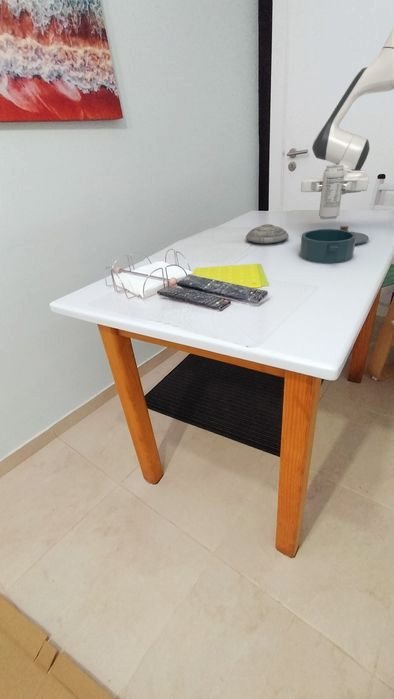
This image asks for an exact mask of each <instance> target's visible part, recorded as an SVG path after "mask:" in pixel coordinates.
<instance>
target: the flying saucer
mask: <svg viewBox="0 0 394 699" xmlns="http://www.w3.org/2000/svg"><path fill="white" fill-rule="evenodd" d="M289 235H290V234H289V233H288V232H287V230H285V229H284V228H282V227H280V226H276V225H273V224H270V223H267V224H266V223H265V224H262V225H260V226H256V227H254V228H253V229H251V230H250V231H248V233H247V234H246V235H245V239H246V240H247V241H249V242H252V243H257V244H274V243H280V242H283V241H285V240H287V239H288V238H289V237H290V236H289Z"/></svg>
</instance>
